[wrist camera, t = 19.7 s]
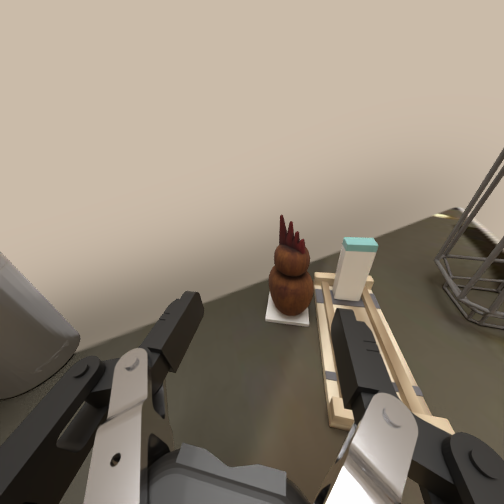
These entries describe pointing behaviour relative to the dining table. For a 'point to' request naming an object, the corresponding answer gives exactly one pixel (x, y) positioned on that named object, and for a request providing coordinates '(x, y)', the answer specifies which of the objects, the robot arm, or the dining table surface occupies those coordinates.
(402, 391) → the light wooden tray
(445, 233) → the dining table surface
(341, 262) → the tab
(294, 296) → the wooden figurine
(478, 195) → the geometric lantern
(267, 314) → the pad
